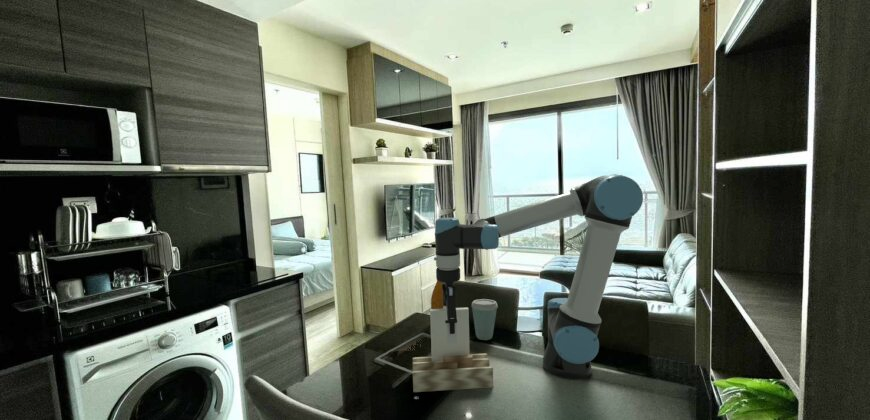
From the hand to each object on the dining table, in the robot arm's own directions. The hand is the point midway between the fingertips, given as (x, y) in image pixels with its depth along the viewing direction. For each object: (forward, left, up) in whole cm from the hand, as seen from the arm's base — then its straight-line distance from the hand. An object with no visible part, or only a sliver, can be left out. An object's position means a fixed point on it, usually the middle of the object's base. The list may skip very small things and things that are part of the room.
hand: (449, 333), depth 113 cm
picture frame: (+9, -20, -16) cm, 27 cm away
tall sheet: (0, 0, -14) cm, 14 cm away
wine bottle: (-1, -45, -15) cm, 48 cm away
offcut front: (+2, +5, -14) cm, 15 cm away
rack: (0, +3, -15) cm, 15 cm away
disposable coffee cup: (-17, -30, -15) cm, 38 cm away
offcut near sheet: (-2, +3, -14) cm, 15 cm away
